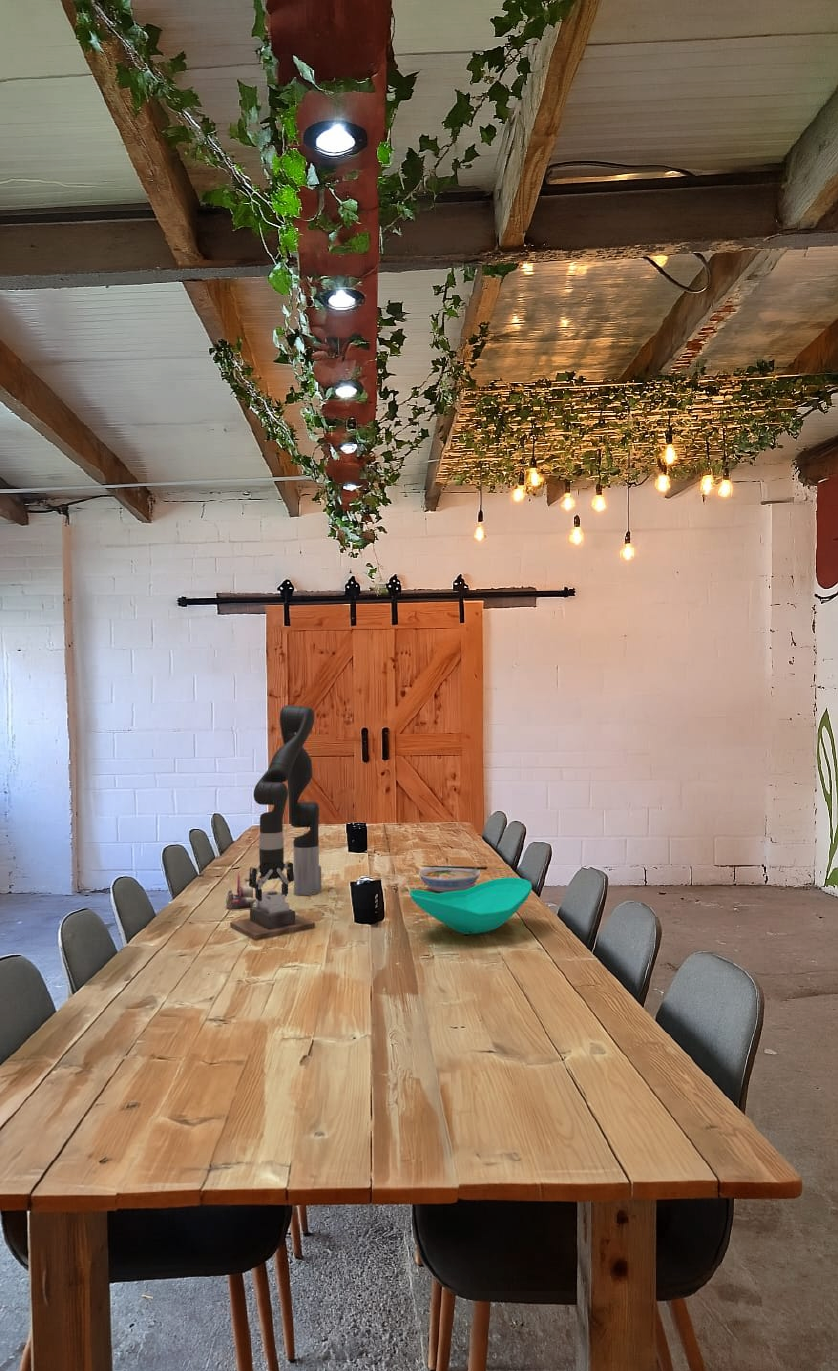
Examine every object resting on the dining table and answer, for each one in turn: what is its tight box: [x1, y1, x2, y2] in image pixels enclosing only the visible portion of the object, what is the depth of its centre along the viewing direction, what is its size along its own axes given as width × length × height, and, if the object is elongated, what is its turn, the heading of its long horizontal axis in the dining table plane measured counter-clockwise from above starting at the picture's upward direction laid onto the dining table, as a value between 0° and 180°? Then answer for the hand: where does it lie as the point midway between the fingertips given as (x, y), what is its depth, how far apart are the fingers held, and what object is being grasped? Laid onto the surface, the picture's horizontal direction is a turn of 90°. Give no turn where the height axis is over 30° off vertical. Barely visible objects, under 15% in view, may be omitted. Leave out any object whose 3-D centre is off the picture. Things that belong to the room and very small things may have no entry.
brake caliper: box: [225, 874, 257, 912], centre depth 268 cm, size 11×11×12 cm
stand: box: [229, 906, 316, 941], centre depth 242 cm, size 20×18×6 cm
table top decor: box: [409, 876, 533, 935], centre depth 235 cm, size 40×28×13 cm
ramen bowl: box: [418, 865, 488, 893], centre depth 284 cm, size 25×23×8 cm
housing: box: [255, 889, 290, 915], centre depth 242 cm, size 10×6×5 cm, turn 37°
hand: (272, 898), depth 242 cm, fingers open, 8 cm apart
